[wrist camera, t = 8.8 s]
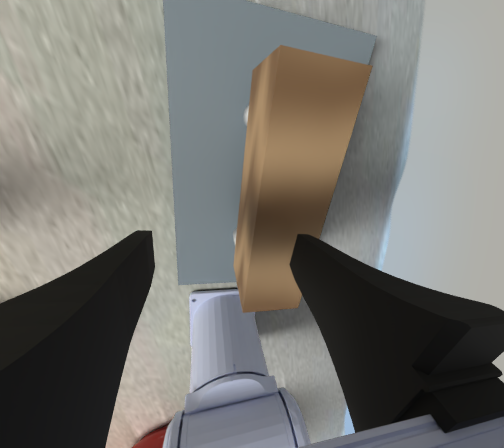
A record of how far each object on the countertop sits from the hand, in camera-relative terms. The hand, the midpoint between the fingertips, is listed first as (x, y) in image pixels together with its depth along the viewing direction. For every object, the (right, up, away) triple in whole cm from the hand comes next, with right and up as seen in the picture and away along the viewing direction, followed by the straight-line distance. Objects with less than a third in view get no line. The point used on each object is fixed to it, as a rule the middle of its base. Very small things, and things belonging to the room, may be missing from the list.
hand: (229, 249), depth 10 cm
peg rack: (+2, +5, +8) cm, 10 cm away
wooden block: (+2, +4, +5) cm, 7 cm away
